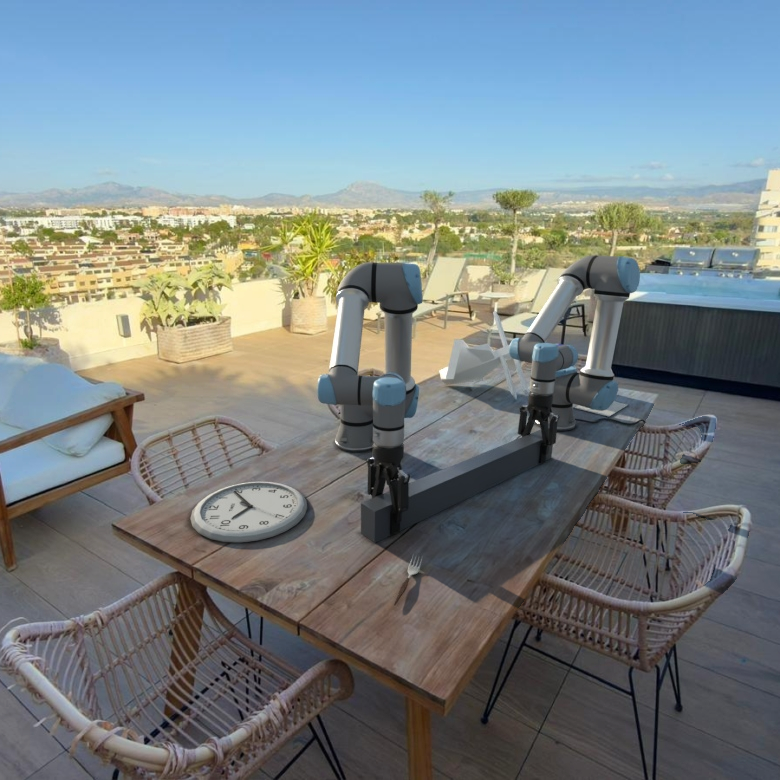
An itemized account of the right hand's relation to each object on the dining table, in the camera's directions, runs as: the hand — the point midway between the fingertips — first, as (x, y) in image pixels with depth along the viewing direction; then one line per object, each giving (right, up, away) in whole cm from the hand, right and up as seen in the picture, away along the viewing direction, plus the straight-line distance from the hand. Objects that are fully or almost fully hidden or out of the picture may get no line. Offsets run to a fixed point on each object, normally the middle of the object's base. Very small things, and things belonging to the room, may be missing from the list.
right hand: (533, 459), depth 172 cm
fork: (-44, -19, -61) cm, 77 cm away
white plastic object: (-6, +22, +71) cm, 74 cm away
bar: (-24, -6, -20) cm, 32 cm away
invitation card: (+44, +16, +54) cm, 71 cm away
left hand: (-48, -12, -41) cm, 64 cm away
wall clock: (-85, -9, -33) cm, 92 cm away
